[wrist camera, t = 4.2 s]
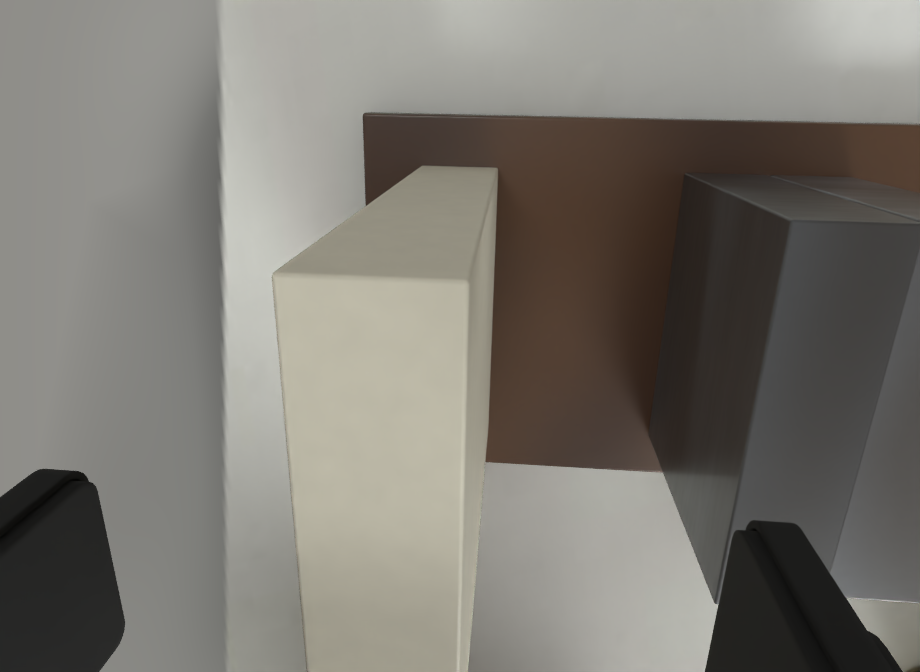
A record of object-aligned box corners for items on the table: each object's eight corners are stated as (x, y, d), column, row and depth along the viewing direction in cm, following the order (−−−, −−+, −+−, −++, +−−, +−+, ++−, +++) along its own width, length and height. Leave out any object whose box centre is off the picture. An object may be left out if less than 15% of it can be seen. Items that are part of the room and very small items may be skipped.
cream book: (421, 422, 23) (315, 788, 11) (421, 165, 20) (269, 272, 8) (488, 426, 23) (456, 802, 11) (498, 167, 20) (469, 280, 7)
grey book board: (378, 442, 24) (307, 622, 16) (369, 112, 20) (265, 121, 12) (894, 472, 23) (1110, 685, 15) (998, 125, 19) (1384, 147, 11)
